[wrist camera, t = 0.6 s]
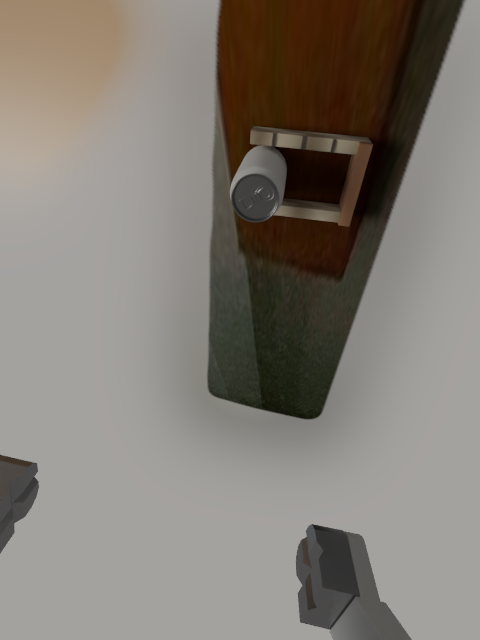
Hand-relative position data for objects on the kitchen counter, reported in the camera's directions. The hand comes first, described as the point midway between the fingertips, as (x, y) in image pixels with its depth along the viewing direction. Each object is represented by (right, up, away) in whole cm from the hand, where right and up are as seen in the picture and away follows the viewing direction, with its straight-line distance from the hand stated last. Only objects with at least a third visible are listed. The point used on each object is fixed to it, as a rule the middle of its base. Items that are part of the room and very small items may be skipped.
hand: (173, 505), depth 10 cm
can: (+5, +27, +38) cm, 47 cm away
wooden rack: (+11, +26, +37) cm, 47 cm away
